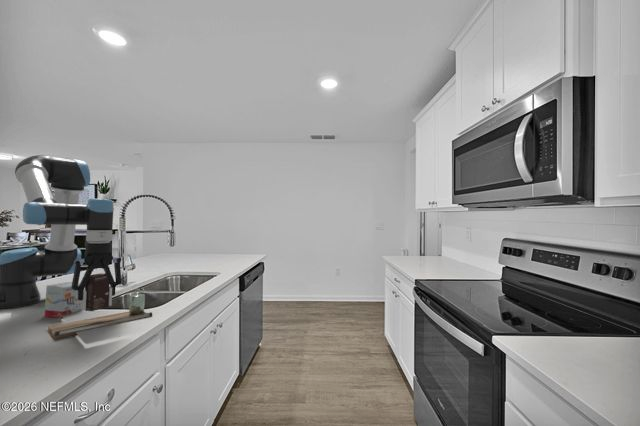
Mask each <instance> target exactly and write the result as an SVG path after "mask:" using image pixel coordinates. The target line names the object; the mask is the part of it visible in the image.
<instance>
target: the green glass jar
mask: <svg viewBox="0 0 640 426" xmlns="http://www.w3.org/2000/svg"><path fill="white" fill-rule="evenodd" d="M145 298H146V295H145V293H134V294H131V295H129V309H128V312H129V315H131V316H135V315H140V314H144V312H145V303H146V299H145Z"/></svg>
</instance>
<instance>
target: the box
mask: <svg viewBox="0 0 640 426" xmlns="http://www.w3.org/2000/svg"><path fill="white" fill-rule="evenodd" d="M109 282H110V280H109V278H108V275H107V274H105V272H104V273H103V272H102V273H101V272H100V273H95V274H91V275H90V278H89V280H88V282H87V284H86V286H85V288H84V290H86V310H84V311H86V312H95V311H97V310H98V311H99V310H101V309H104V308H108V307H109V306H108V303H109V286H110V284H109Z"/></svg>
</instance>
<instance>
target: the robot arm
mask: <svg viewBox="0 0 640 426" xmlns="http://www.w3.org/2000/svg"><path fill="white" fill-rule="evenodd" d="M14 173H15V174H14V175H15V178H16V179H17V182H19V183H21V184H22V185H21V186H22V188H23V190H24V194H25V197H26V200H27V202H25V203H24V204H23V208H22V221H23V222H24V224H27V225H37V226H43V225H44V226H45V225H49V226H50V234H49V242H48V243H47V244H45V245H44V249H43V250H39V249H38V248H37V247H26V248H25V247H23V248H16V249H10V250H6V251H3V252H2V253H0V309H12V308H20V307H21V308H22V307H27V306H31V305H35V304H38V303H39V302H41V300H42V299H41V294H40V290H39V288H38V286H37V278H42V277H53V276H65V275H71V274H73V275H72V281H71V282H72V287H71V288H72V289H73V290H77V291H78V300H79V301H80V300H81V309H82V311H85V310H86V290H85V286H86V284H87V282H88V280H89V278H90V275H92V273H93V272H94V270H97V269H102V270H103V271H104V273H105V274H107V275H108V278H109V280H110V282H109V303H108V307H111V306H112V305H113V304H112V302H113V297H115V295H116V288H117V286H120V285H121V284H122V273H121V272H122V271H121V262H122V257H118V256H117V257H114V256H113V254H112V253H113V252H112V249H113V243H112V241H113V229H114V228H113V225H114V211H115V208H114V201H113V200H112V199H109V198H108V199H107V198H89V199H88V201H87V204H81V203H79V200H80V194H81V193H82V192H84V190H85V187H89V186H90V183H91V172H90V167H89V165H88V163H87V162H86V161H84V160H79V159H75V158H67V157H59V156H52V155H43V154H38V155H37V154H36V155H31V156H28V157H26V158H24V159H22V160H21V161H19V162H18V163H17V164H16V167H15V169H14ZM53 191H54V192H53ZM81 225H82V226H86V232H85V233H86V234H85V235H86V237H85V242H86V243H85V256H84V257H83V258H82V251H81V249H80V248H78V245H77V244H76V243H75V237H76V236H75V233H76V227H77V226H81ZM111 261H112V263H113V266H114V277H115V279H114V277H113V274H112V272H111V269H110V266H109V264H110V263H111ZM84 263H85V264H86V265H87V267H86V270H85V272H84V275H83V276H82V278H81V281H80V277H81V276H80V275H81V271H82V266H83V265H84ZM79 281H80V282H79ZM78 283H80V285H79V286H78Z"/></svg>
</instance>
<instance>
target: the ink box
mask: <svg viewBox="0 0 640 426" xmlns="http://www.w3.org/2000/svg"><path fill="white" fill-rule="evenodd" d="M80 283H81V282H78V286H79V285H80ZM71 287H72V281H66V282H62V283H61V282H60V283H55V284H49V285H46V290H45V291H46V292H45V304H44V318H45V317H47V318H55V319H64V317H63V316H65V315H69V314H72V313H75V312H79V311H81V310H82V309H81V300H80V301H79V300H78V291H77V290H73V289H72V288H71ZM82 311H83V310H82Z"/></svg>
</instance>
